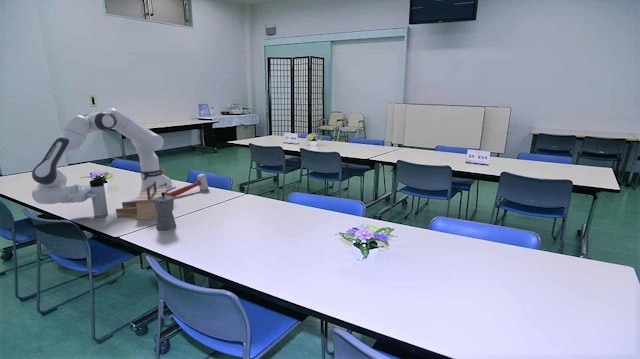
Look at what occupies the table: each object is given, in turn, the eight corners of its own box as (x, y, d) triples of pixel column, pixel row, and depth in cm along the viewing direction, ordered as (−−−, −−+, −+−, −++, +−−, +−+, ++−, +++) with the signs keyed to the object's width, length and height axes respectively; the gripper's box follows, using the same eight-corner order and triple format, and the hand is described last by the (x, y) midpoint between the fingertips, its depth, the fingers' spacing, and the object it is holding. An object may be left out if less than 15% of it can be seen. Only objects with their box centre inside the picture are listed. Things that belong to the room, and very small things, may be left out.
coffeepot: (174, 231, 171) (171, 195, 167) (153, 233, 169) (149, 196, 164) (179, 220, 185) (176, 187, 181) (159, 221, 183) (156, 188, 179)
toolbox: (125, 208, 204) (122, 180, 200) (169, 205, 210) (166, 178, 206) (114, 221, 183) (110, 190, 179) (163, 218, 189) (160, 188, 185)
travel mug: (111, 214, 193) (106, 178, 189) (100, 218, 187) (95, 181, 183) (102, 212, 195) (97, 177, 191) (91, 216, 189) (86, 180, 185)
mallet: (167, 190, 219) (205, 173, 243) (163, 189, 221) (202, 173, 244) (171, 206, 223) (208, 188, 246) (167, 205, 224) (205, 187, 248)
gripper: (60, 193, 175) (92, 192, 178) (77, 183, 194) (105, 182, 197) (62, 206, 176) (94, 204, 179) (78, 194, 195) (106, 193, 199)
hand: (100, 192), depth 188 cm, fingers closed on travel mug, 6 cm apart
